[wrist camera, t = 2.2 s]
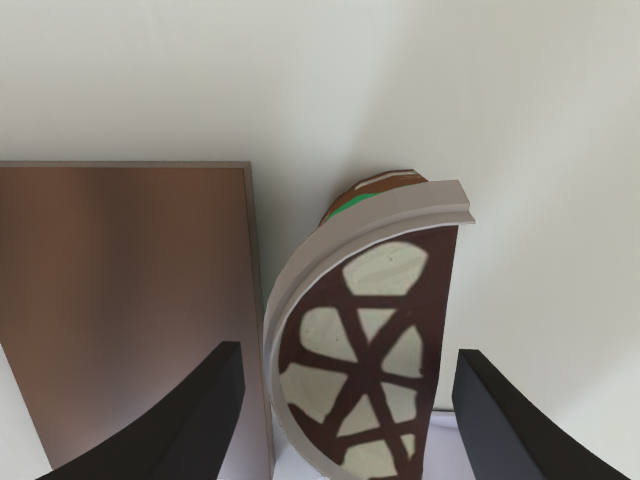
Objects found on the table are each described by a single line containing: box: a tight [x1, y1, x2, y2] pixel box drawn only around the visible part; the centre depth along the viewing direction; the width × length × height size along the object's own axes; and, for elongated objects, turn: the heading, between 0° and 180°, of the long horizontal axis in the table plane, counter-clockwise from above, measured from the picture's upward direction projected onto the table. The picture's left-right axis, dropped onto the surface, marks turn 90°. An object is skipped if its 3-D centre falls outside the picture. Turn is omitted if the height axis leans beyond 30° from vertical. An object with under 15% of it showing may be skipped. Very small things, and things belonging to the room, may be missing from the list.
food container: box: [263, 169, 476, 480], centre depth 17 cm, size 12×6×10 cm, turn 0°
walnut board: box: [0, 161, 275, 480], centre depth 24 cm, size 16×22×2 cm
